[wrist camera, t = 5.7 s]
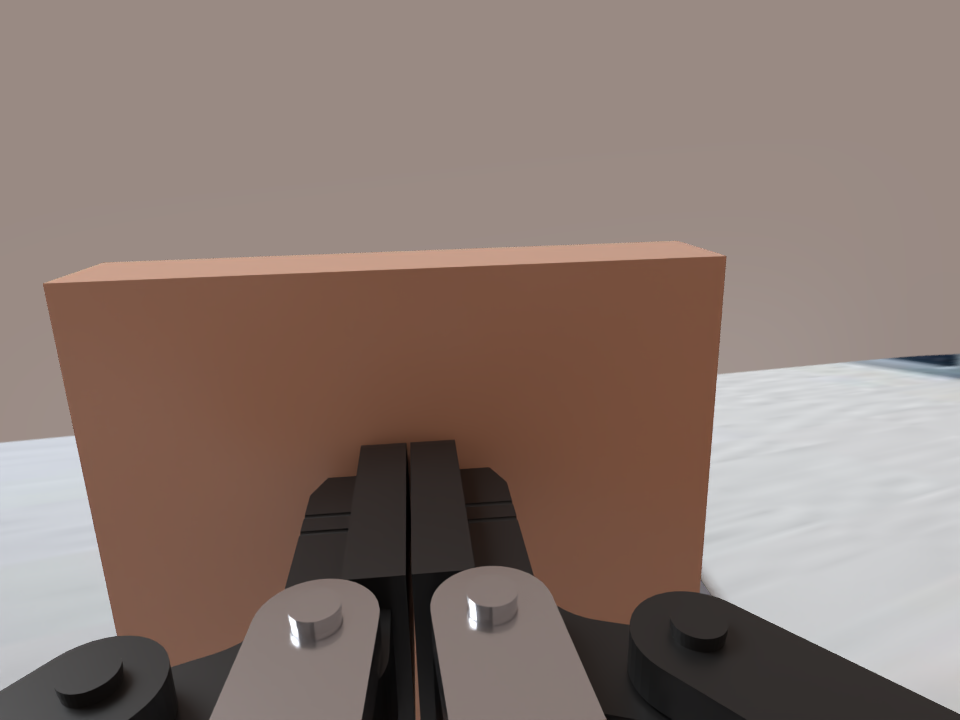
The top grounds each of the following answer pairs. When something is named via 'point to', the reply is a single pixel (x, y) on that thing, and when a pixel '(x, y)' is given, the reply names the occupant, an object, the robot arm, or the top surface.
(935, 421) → the top surface
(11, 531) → the top surface
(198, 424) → the tile
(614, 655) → the robot arm
